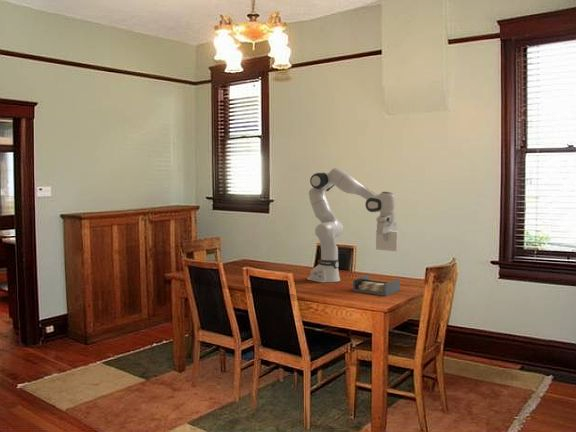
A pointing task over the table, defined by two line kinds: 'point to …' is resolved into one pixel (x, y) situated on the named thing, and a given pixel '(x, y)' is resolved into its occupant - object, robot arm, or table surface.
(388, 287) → the rack
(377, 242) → the cream slab
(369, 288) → the offcut stack
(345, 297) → the table surface
